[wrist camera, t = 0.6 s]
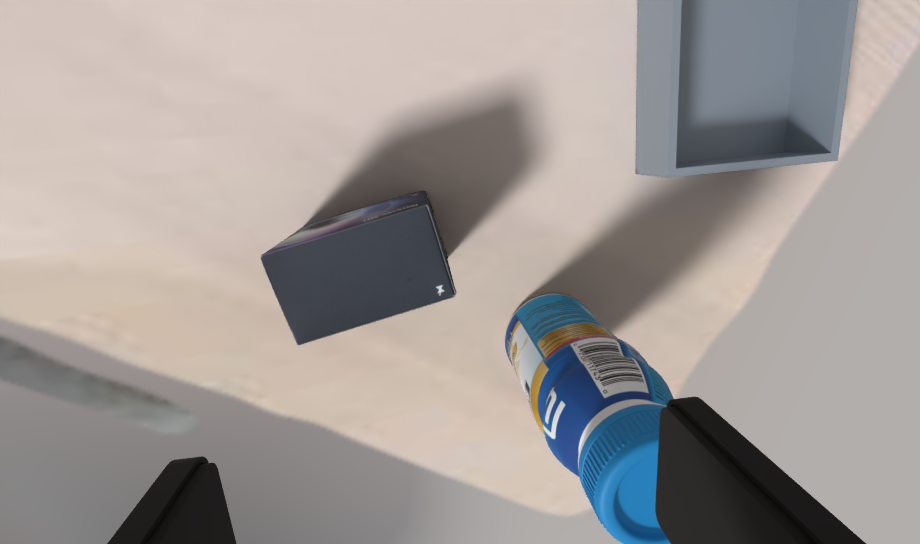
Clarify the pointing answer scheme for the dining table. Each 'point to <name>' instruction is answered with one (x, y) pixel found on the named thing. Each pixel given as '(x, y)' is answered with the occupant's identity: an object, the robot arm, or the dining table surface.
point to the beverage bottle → (593, 409)
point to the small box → (360, 268)
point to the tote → (740, 83)
